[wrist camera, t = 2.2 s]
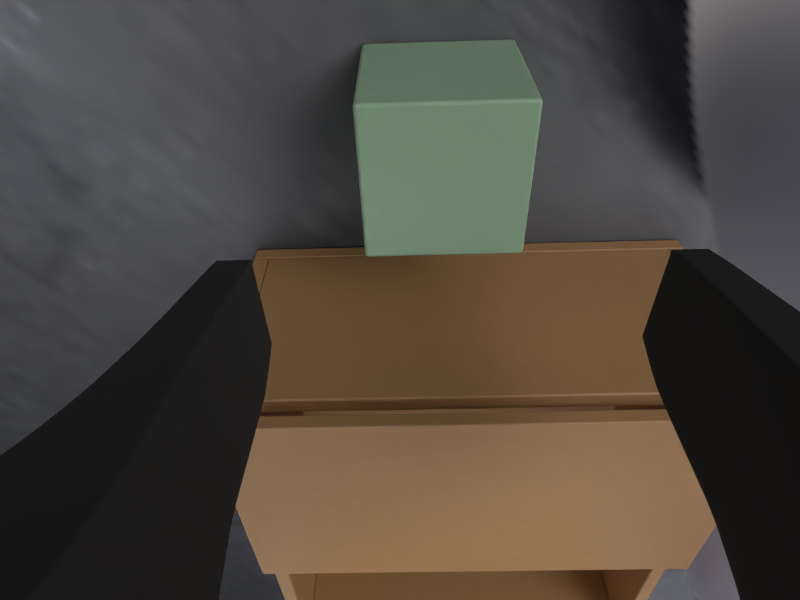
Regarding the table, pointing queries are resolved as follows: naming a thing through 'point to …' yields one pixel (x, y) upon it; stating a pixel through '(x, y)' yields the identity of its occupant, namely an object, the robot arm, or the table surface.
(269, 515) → the carton
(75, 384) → the table surface
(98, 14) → the table surface
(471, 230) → the cube
